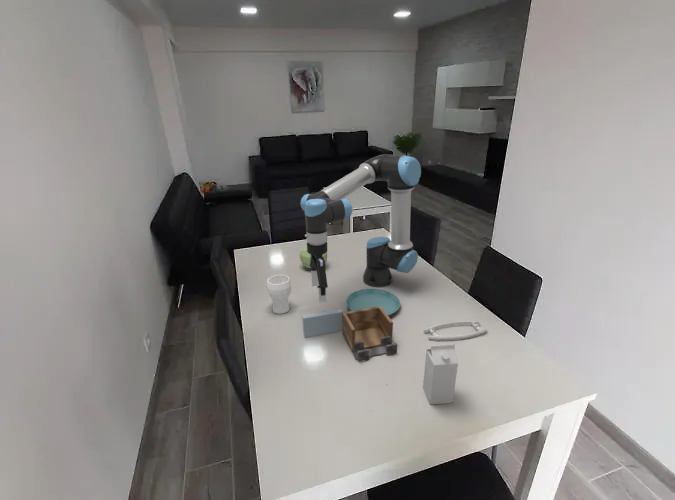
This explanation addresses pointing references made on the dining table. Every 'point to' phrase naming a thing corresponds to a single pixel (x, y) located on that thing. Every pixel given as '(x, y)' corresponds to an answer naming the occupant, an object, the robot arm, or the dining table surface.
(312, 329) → the door
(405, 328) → the dining table surface
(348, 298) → the saucer
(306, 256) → the decorative sphere
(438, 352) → the milk carton
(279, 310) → the cup
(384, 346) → the cabinet
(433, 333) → the door handle
